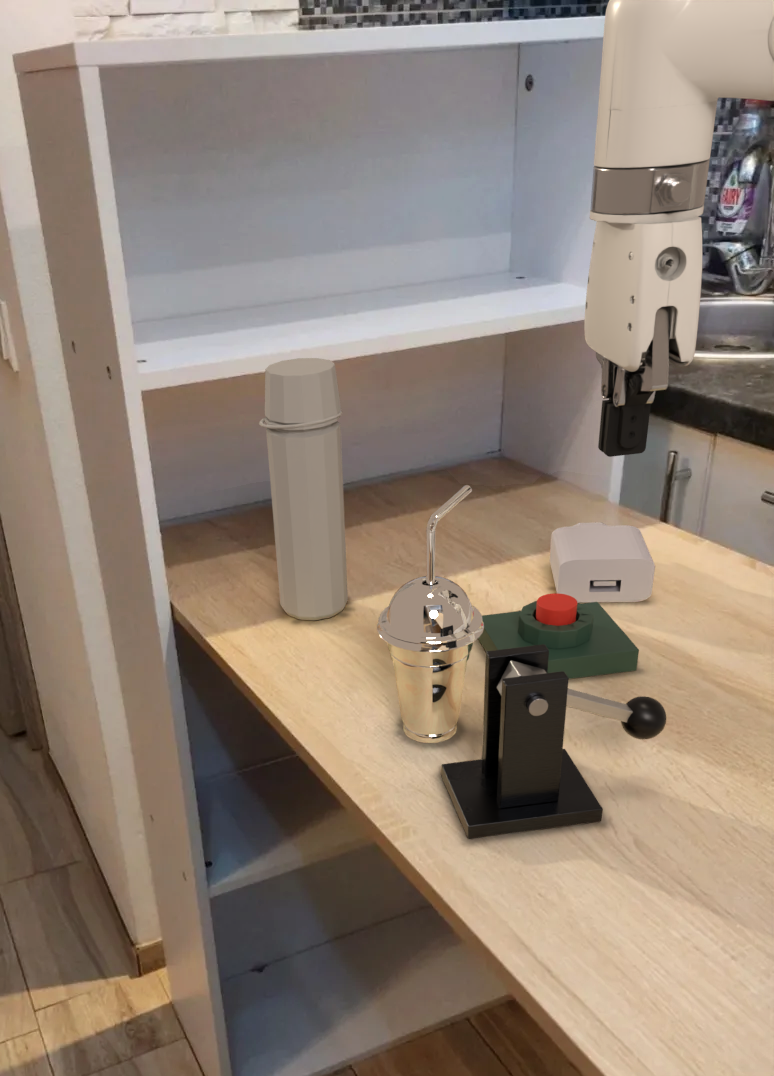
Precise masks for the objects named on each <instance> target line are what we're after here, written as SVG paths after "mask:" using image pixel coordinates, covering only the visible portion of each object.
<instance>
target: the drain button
mask: <svg viewBox="0 0 774 1076" xmlns="http://www.w3.org/2000/svg"><path fill="white" fill-rule="evenodd" d="M536 601H537V606H536V620H537V621H539V622H541V623H544V624H547V625H556V626H561V625H569V624H571V623H574V622H575V621H576V614H577V600H576V599H575V598H573V597H572V596H569V595H566V594H559V593H557V592H556V593H555V592H554V593H547V594H543V595H541V596H539V597H538V598H537V599H536Z"/></svg>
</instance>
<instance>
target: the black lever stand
mask: <svg viewBox="0 0 774 1076" xmlns="http://www.w3.org/2000/svg"><path fill="white" fill-rule="evenodd" d="M548 659H549V650H548V648H547V647H546V645H545V644H543V645H534V646H526V647H518V648H510V649H502V650H493V651H485V661H484V662H485V668H484V694H483V695H484V697H483V718H482V719H483V723H482V747H481V748H482V751H481V758H479V759H473V760H464V761H456V762H447V763H441V766H440V768H441V769H440V770H441V771H440V772H441V773H440V775H441V776H440V777H441V779H442V781H443V784H444V786H445V788H446V790H447V792H448V795H449V797H450V799H451V802H452V805H453V806H454V809H455V811H456V813H457V816H458V818H459V821H460V823H461V826H462V828H463V830H464V833H465V835H466V837H467V839H469V840H470V839H477V838H478V839H479V838H484V837H492V836H499V835H507V834H508V835H509V834H516V833H525V832H531V831H538V830H547V829H554V828H562V827H568V826H576V825H584V824H592V823H599V822H600V823H601V822H602V820H603V812H604V811H603V810H604V809H603V807H602V805H601V804H600V802H599V800H598V799H597V797H596V796H595V794H594V793H593V791H592V789H591V788H590V785H588V783H587V781H586V780H585V778H584V777H583V775H582V774H581V772H580V771H579V769H578V767H577V766H576V763H575V762H574V760H573V759H572V758H571V756H570V755H569V753H568V751H567V749H566V748H564V738H565V727H566V717H567V716H566V714H567V706H566V704H567V692H568V688H569V680H570V679H569V678H568V676H567V675H566V673H565V672H564V671H560V672H552V673H548ZM511 660H512V661H516V662H519V663H523V664H526V665H530V666H534V667H537V668H541V669H544V670H545V672H546V673H544V674H536V675H528V676H520V677H512V678H504V679H502V695H501V694H500V693H499V691H498V689H497V686H498V684H499V682H500V680H501V678H502V676H503V674H504V672H505V670H506V668H507V666H508V664H509V662H510V661H511Z"/></svg>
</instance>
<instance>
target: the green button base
mask: <svg viewBox="0 0 774 1076" xmlns="http://www.w3.org/2000/svg"><path fill="white" fill-rule="evenodd" d="M536 606H537V600H534V601H532V602H530V603H528V604H526V605H523V606H522V609H521V610H516V611H507V612H500V613H492V614H483V615H482V614H481V615H482V621H483V624H484V630H483V633H482V634H481V636H480V637H479V638H478V639H477V640H478V641H479V643H480V644H481V646H482V648H483V650H484V651H485V652H486V651H493V650H502V649H510V648H518V647H526V646H534V645H543V644H545V645H546V647H547V648H548V650H549V659H548V673H552V672H560V671H564V672H565V673H566V675H567V676H568V678H569V680H571V679H579V678H588V677H595V676H596V677H597V676H605V675H613V674H621V673H628V672H636V671H637V670H638V661H639V653H640V648H638V646H636V644H635V643H634V642H633V641H632V640H631V638H629V636H628V635H627V634H626V632H624V631H623V629H622V628H621V627H620V625H618V624H617V623H616V621H615V620H614V619H613V618H612V617H611V615H609V613H608V612H607V611H606V609H604V607H603V606H602V605H601V604H600V602H581V603H580V602H579V603H577V614H576V621H575V622H574V623H571V624H569V625H561V626H556V625H547V624H544V623H541V622H539V621H537V620H536Z"/></svg>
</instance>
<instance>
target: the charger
mask: <svg viewBox="0 0 774 1076" xmlns="http://www.w3.org/2000/svg"><path fill="white" fill-rule="evenodd" d="M549 549H550V550H549V564H550V568H551V572H552V578H553V583H554V586H555V591H556V593H559V594H566V595H569V596H572V597H573V598H575V599H576V600H577V603H579V604H580V603H591V602H598V603H636V602H638V603H639V602H642V601H643V602H644V601H646V600H649V598H651V596H652V593H653V587H654V586H653V585H654V577H655V572H656V571H655V570H656V565H655V562H654V560H653V557H652V555H651V552H650V550H649V548H648V546H647V543H646V540H645V538H644V536H643V534H642V531H641V530H640V528H638V527H637V526H633V525H629V524H628V525H626V524H624V525H623V524H621V525H619V524H618V525H617V524H616V525H610V524H609V525H608V524H606V523H604V522H601V521H600V522H596V521H595V522H578V523H576V524H574V525H571V526H562V527H558V528H556V529H554V530H553V531H552V532H551V534H550V548H549Z"/></svg>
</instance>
